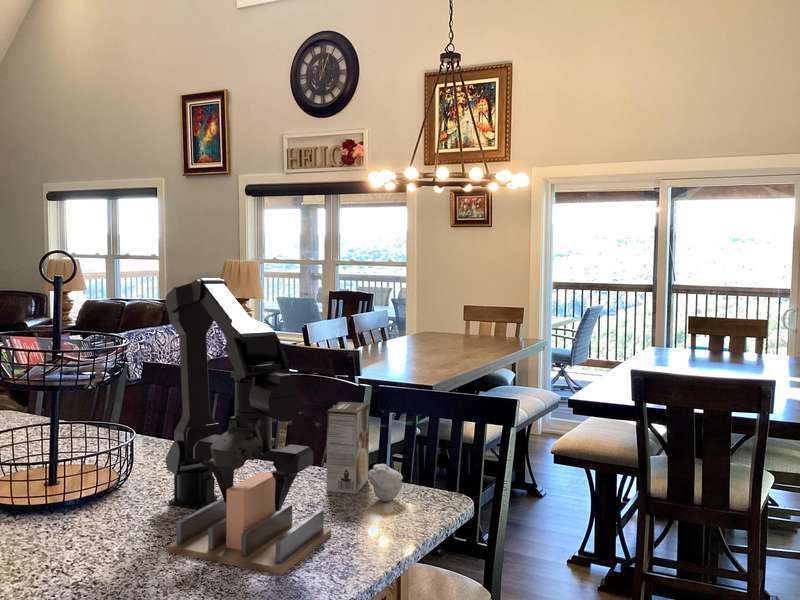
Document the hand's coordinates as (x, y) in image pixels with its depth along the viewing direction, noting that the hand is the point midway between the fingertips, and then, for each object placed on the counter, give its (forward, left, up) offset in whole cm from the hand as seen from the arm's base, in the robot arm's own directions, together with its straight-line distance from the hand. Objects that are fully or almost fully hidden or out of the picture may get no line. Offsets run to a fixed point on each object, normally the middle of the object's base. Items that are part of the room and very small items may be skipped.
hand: (252, 506), depth 114 cm
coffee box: (+2, +32, -6) cm, 33 cm away
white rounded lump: (+12, +27, -6) cm, 30 cm away
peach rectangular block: (0, 0, -5) cm, 5 cm away
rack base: (0, 0, -6) cm, 6 cm away
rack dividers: (0, 0, -6) cm, 6 cm away
